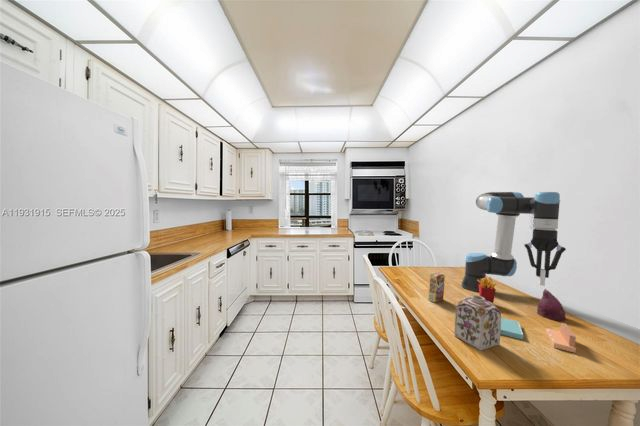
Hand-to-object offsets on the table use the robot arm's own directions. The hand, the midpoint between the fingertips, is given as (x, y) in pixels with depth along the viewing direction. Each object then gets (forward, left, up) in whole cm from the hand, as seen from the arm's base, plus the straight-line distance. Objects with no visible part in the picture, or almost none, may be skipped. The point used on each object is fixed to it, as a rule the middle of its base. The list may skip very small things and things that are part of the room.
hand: (541, 284), depth 101 cm
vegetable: (-29, +9, -23) cm, 38 cm away
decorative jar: (+20, -22, -23) cm, 37 cm away
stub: (+1, +6, -22) cm, 23 cm away
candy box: (-16, -42, -23) cm, 50 cm away
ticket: (+1, -12, -22) cm, 25 cm away
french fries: (-28, -19, -23) cm, 41 cm away
